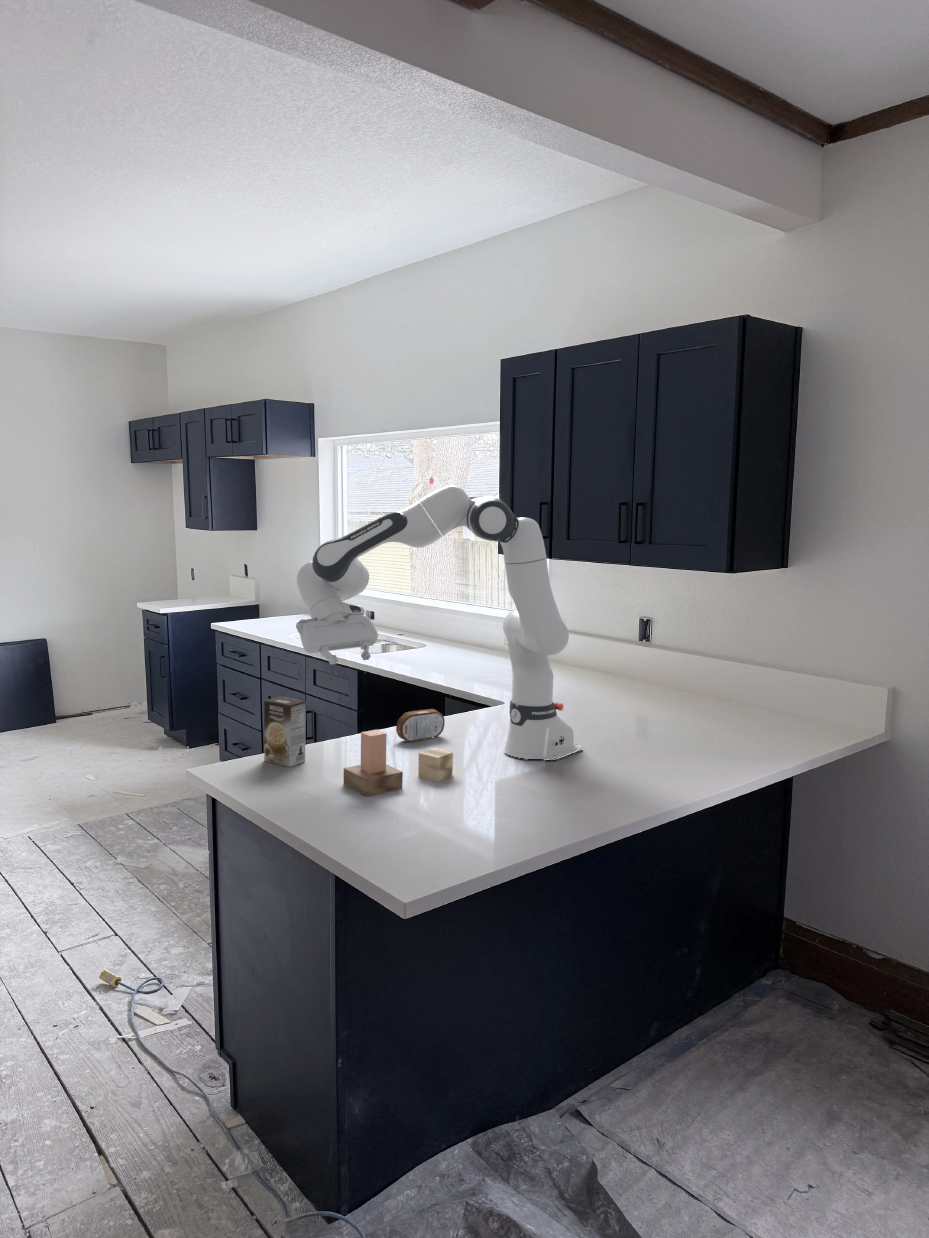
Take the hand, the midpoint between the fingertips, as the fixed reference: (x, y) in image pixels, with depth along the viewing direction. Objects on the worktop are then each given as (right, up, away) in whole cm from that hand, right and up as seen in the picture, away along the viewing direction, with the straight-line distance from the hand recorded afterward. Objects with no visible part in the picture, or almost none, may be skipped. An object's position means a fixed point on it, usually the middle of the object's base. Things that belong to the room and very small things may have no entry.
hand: (351, 660), depth 210 cm
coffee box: (-18, -26, +8) cm, 33 cm away
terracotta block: (+7, -25, -10) cm, 28 cm away
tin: (+16, -24, +31) cm, 42 cm away
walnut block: (+6, -29, -10) cm, 31 cm away
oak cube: (+21, -28, -1) cm, 35 cm away
